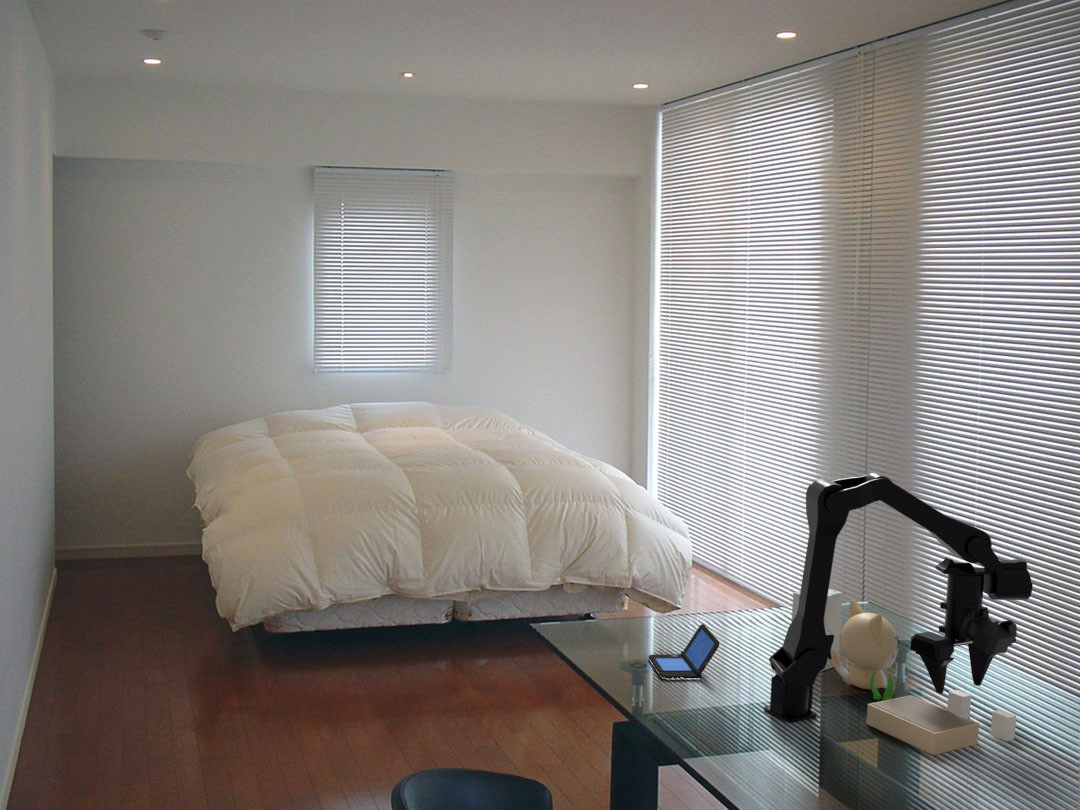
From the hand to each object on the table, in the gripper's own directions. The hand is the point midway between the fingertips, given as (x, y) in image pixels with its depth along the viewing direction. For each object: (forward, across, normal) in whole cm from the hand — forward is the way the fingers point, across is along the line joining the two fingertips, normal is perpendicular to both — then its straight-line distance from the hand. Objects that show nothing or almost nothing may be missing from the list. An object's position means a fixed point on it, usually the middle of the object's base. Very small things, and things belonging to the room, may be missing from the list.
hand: (958, 689), depth 190 cm
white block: (+5, -1, -9) cm, 10 cm away
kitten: (+5, -4, +16) cm, 18 cm away
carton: (+4, -12, -4) cm, 14 cm away
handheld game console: (+5, -29, +39) cm, 49 cm away
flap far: (+5, 0, -1) cm, 5 cm away
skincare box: (+5, -5, +30) cm, 30 cm away
